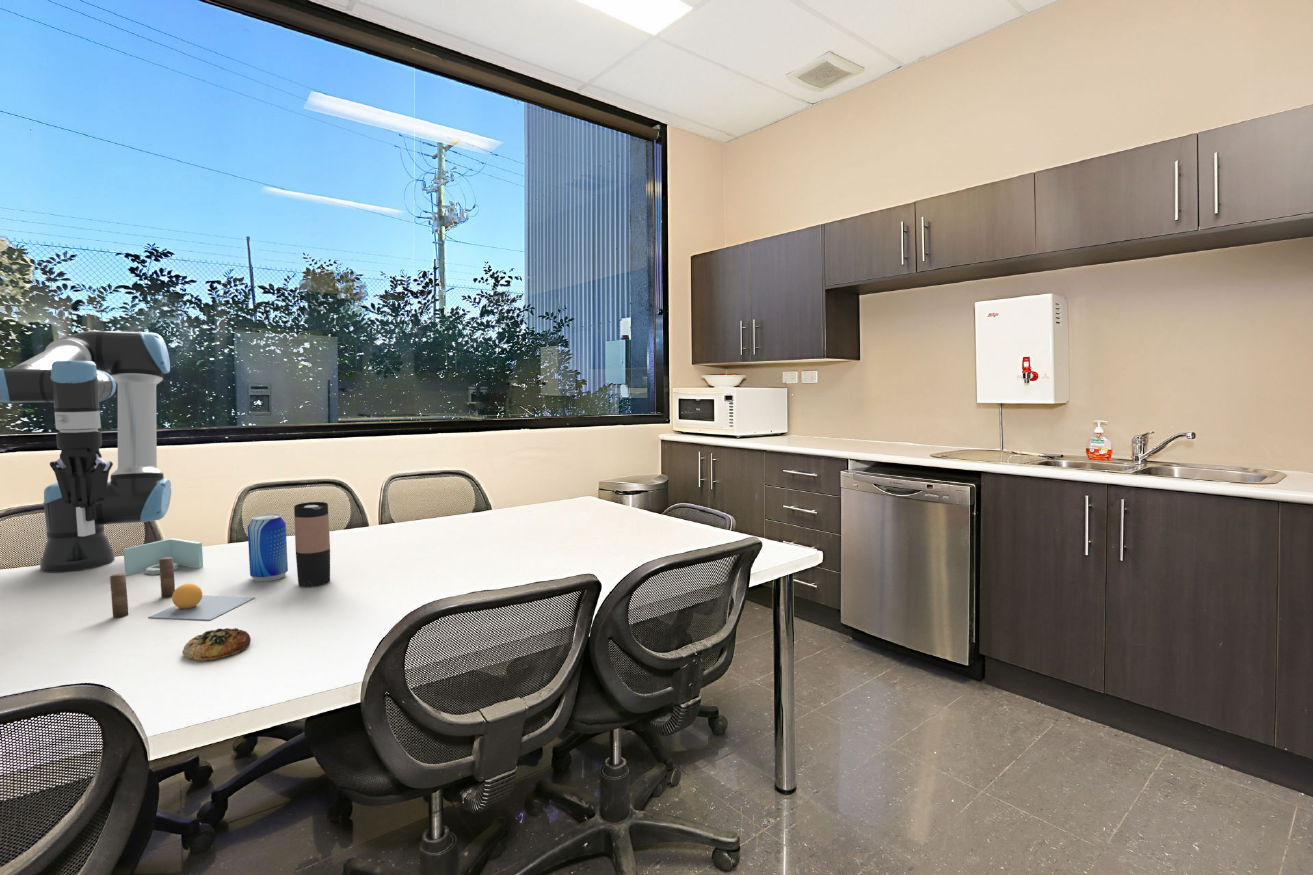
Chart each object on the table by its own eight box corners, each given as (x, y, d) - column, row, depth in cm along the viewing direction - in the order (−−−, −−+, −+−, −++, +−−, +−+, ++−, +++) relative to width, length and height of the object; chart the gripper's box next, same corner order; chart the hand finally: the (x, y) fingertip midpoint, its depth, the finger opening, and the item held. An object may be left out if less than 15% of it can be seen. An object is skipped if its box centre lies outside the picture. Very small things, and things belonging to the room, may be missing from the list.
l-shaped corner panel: (125, 577, 169) (123, 548, 168) (174, 564, 180) (172, 538, 179) (155, 582, 164) (153, 553, 164) (203, 569, 175) (201, 542, 175)
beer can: (270, 583, 163) (267, 520, 161) (242, 581, 164) (238, 519, 163) (295, 573, 171) (293, 513, 169) (268, 571, 173) (265, 512, 171)
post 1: (109, 617, 139) (106, 576, 138) (120, 613, 142) (117, 573, 141) (121, 617, 139) (118, 577, 138) (131, 613, 142) (128, 573, 141)
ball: (188, 589, 142) (188, 613, 142) (208, 581, 147) (208, 605, 148) (165, 586, 143) (165, 610, 143) (186, 579, 148) (186, 602, 148)
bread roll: (263, 637, 130) (259, 615, 129) (229, 670, 119) (224, 645, 118) (207, 639, 130) (202, 617, 128) (168, 672, 119) (162, 648, 118)
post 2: (158, 597, 152) (156, 560, 151) (167, 593, 154) (165, 556, 154) (169, 597, 152) (166, 560, 151) (178, 594, 154) (175, 557, 153)
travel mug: (305, 578, 167) (302, 501, 165) (336, 577, 168) (333, 501, 166) (291, 588, 159) (287, 508, 158) (323, 587, 160) (320, 507, 158)
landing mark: (148, 617, 139) (148, 617, 139) (198, 595, 153) (198, 595, 153) (210, 620, 138) (210, 619, 138) (255, 598, 152) (255, 597, 152)
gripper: (34, 431, 141) (43, 538, 143) (90, 432, 140) (98, 539, 142) (67, 428, 148) (75, 530, 150) (121, 429, 147) (128, 531, 149)
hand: (86, 534), depth 146 cm, fingers closed
